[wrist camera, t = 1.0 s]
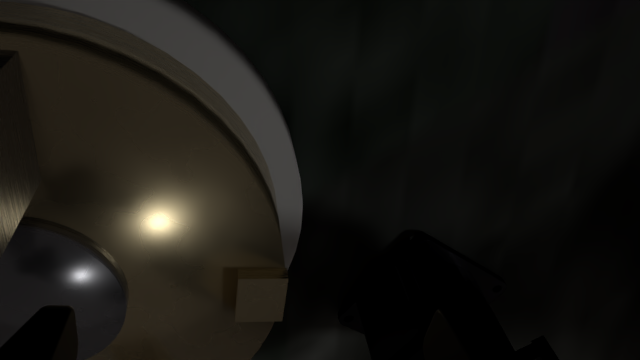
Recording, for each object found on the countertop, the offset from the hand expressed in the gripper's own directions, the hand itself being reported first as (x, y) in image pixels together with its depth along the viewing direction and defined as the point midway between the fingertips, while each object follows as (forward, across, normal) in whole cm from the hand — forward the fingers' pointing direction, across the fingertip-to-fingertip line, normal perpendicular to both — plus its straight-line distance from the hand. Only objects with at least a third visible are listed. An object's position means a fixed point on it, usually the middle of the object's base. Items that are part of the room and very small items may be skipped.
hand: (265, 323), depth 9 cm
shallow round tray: (+10, +6, +6) cm, 13 cm away
